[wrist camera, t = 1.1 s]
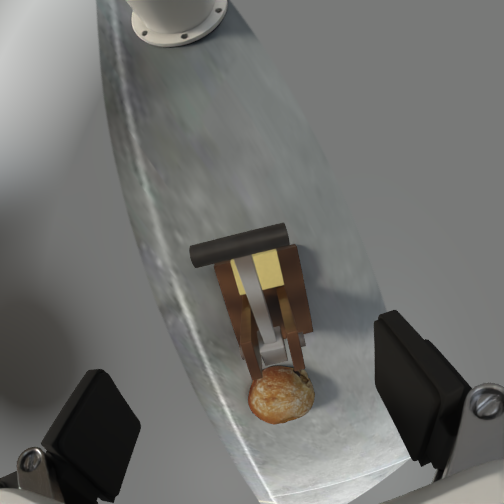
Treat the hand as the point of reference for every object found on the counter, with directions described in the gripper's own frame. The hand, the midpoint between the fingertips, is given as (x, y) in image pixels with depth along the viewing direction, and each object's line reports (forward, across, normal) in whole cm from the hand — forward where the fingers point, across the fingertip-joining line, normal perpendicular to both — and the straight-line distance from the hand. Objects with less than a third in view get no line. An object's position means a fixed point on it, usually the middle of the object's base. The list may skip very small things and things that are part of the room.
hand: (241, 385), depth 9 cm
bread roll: (+26, +1, +25) cm, 37 cm away
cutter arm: (+14, 0, +4) cm, 14 cm away
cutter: (+26, 0, +9) cm, 28 cm away
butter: (+25, 0, +4) cm, 26 cm away
